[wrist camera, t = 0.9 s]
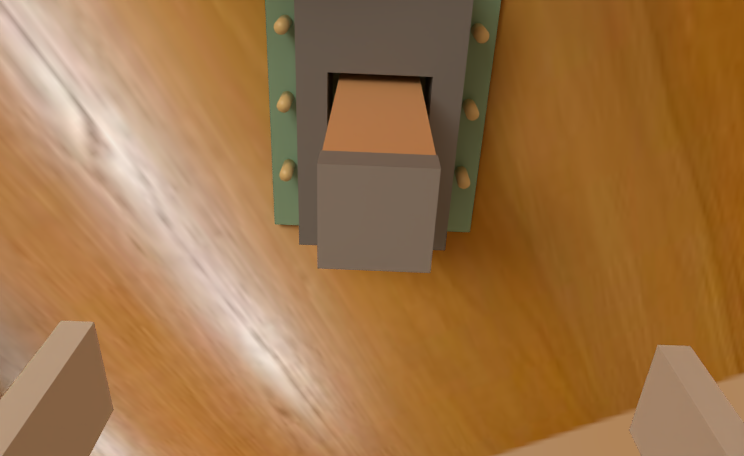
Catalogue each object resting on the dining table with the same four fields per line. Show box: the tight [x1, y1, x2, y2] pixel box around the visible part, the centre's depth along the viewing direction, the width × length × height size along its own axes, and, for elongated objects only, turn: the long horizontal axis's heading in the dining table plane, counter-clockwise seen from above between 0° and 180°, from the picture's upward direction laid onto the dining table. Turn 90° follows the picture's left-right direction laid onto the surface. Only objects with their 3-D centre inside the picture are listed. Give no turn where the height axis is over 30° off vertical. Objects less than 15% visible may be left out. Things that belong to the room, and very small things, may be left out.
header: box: [265, 0, 501, 250], centre depth 32 cm, size 16×12×4 cm
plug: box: [317, 73, 441, 273], centre depth 27 cm, size 4×4×14 cm
